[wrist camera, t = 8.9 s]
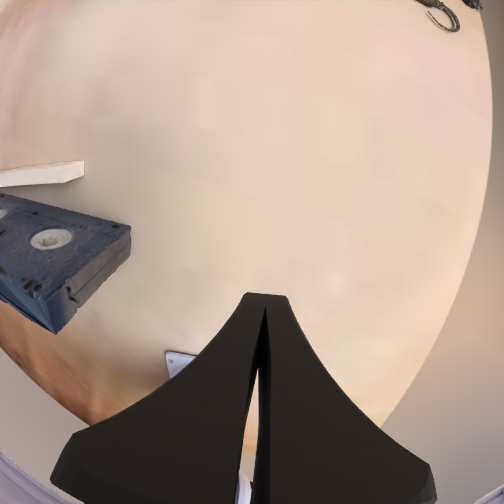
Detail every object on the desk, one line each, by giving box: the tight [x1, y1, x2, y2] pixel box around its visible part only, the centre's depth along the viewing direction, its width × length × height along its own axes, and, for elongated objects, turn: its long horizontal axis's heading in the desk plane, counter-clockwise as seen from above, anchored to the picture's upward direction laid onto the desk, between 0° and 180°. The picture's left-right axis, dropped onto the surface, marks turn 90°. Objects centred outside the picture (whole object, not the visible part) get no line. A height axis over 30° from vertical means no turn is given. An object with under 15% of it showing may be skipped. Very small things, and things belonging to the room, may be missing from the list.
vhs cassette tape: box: [0, 193, 131, 335], centre depth 15 cm, size 18×3×10 cm, turn 75°
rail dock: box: [0, 160, 84, 187], centre depth 16 cm, size 11×15×6 cm
